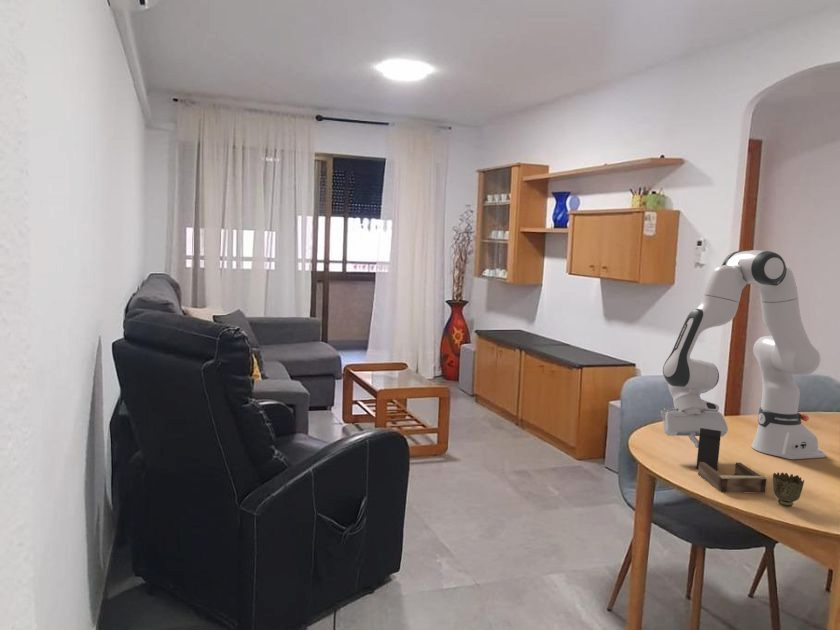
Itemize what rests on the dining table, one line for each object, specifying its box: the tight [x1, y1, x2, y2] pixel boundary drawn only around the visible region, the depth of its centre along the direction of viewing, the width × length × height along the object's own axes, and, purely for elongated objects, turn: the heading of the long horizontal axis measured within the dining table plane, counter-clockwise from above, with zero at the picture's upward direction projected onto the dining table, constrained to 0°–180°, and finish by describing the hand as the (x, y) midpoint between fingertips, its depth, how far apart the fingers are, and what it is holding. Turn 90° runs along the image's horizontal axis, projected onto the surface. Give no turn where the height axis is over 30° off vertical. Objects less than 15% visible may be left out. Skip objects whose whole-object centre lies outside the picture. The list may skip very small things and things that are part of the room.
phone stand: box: [695, 428, 722, 472], centre depth 206 cm, size 9×6×12 cm, turn 155°
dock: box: [697, 462, 768, 494], centre depth 193 cm, size 13×14×4 cm
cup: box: [772, 472, 805, 508], centre depth 178 cm, size 8×7×8 cm
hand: (701, 447), depth 211 cm, fingers closed
